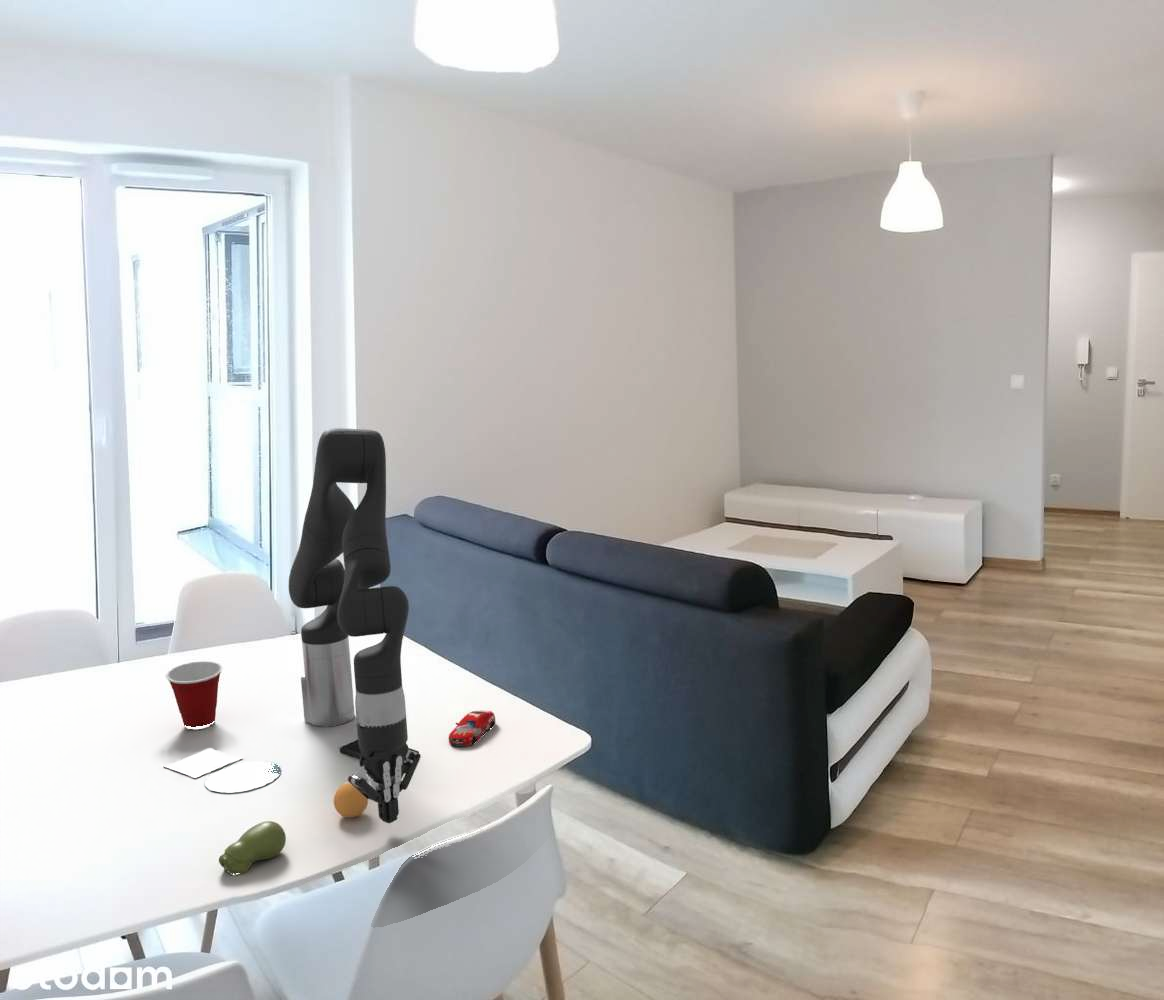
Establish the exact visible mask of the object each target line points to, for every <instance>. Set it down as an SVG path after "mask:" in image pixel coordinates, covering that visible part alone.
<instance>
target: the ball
mask: <svg viewBox="0 0 1164 1000" xmlns="http://www.w3.org/2000/svg"><path fill="white" fill-rule="evenodd" d="M368 803H369V799H367V798H366V797H365V796H364V795H362V794H361V793H360V792H359V791H358V790H357V789H356V788H355V787H354V786H353V785H352V784H351V783H350V782H349V781H348V782H346V783H344V784H342V785H340V786H339V787H338V788H337V790H336V791H335V793H334V795H333V806H334V809H335V810H336V812H337V813H338V814H339V815H341V816H342V817H344V818H355V817H358V816H360V815H362V813H363V812H364V811H365V809H367V806H368Z"/></svg>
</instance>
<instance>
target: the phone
mask: <svg viewBox="0 0 1164 1000" xmlns="http://www.w3.org/2000/svg"><path fill="white" fill-rule="evenodd" d="M408 750H410V751H413V752H416V753H419V754H420V752H419V750H416V749H413V748H410V747H408ZM338 751H339V753H340V754H342V755H345V756H348V757H351V758H353V759H356V760H358V759H359V761H360V758H361V750H360V748H359V745H358V739H356V740H354V741H352V742H349V743H347V744H346V743H345V744H344V745H342V746H340V747H339V748H338Z"/></svg>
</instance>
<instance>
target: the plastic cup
mask: <svg viewBox="0 0 1164 1000" xmlns="http://www.w3.org/2000/svg"><path fill="white" fill-rule="evenodd" d="M222 671H223V666H222V665H221V663H218V662H215V661H208V660H207V661H206V660H202V661H200V660H199V661H191V662H187V663H183V664H179V665H177V666H174V667H173V668H171V669H170V670H168V671H167V672H166V674H165V677H166V679H167V680H168V683H169V684H170V687H171V689H172V691H173V694H174V698H175V701H176V704H177V708H178V711H179V713H180V716H181V719H182V723H184V724H183V725H184V726H185V725H186V726H191V727H196V726H203V725H207V724H210V723H212V722H213V721H215V720H216V716H217V715H216V714H217V713H216V712H217V706H218V705H217V704H218V693H219V692H218V691H219V682H220V677H221V673H222Z"/></svg>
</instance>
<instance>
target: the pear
mask: <svg viewBox="0 0 1164 1000" xmlns="http://www.w3.org/2000/svg"><path fill="white" fill-rule="evenodd" d="M286 836H287V835H286V833H285V830H284V828H283V827H282V826H281V825H280V824H279V823H277V822H275V821H272V820H267V821H262V822H260V823H258V824H255V825H254V826H252V827H250V828H248V829H247V830H246V831H245V832H244V833H242V834H241V836H240V838H238V839H237V840H236V841H235V842H233V843H231V844H229V845H228V846H227V847H226V849H224V853H223V854H221V855H220V856H219V858H218V863H219V865H220V866H221V867H222V868H224V870H225V869H226V870H227V871H226V870H225V871H226V872H228V871H229V872H230V873H232V874H233V873H234V874H236V873H242V874H244V873H246V872H247V871H248V870H249V869H250V867H251V865H252V864H253V863H254V862H256V861H262V860H268V859H272V858H275V857H276V856H278V855H280V854H281V852H282V851H283V849H284V848H285V846H286V842H287V841H286V840H287V837H286ZM229 872H228V873H229ZM243 872H244V873H243ZM230 873H229V874H230Z"/></svg>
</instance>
